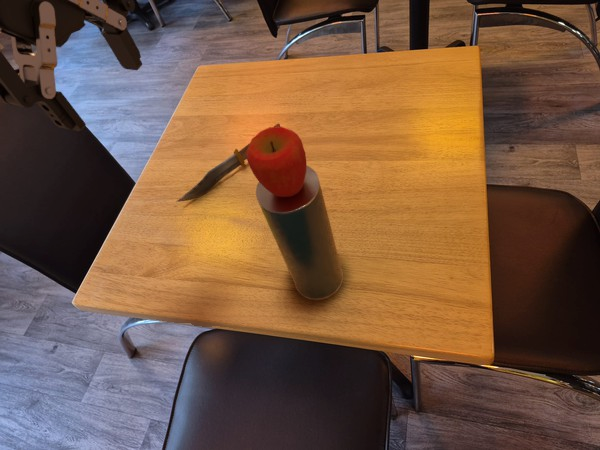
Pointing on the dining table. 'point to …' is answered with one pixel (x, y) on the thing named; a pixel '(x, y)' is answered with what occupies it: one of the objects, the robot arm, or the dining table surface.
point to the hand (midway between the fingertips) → (106, 96)
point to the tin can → (304, 237)
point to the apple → (278, 161)
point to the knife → (217, 174)
